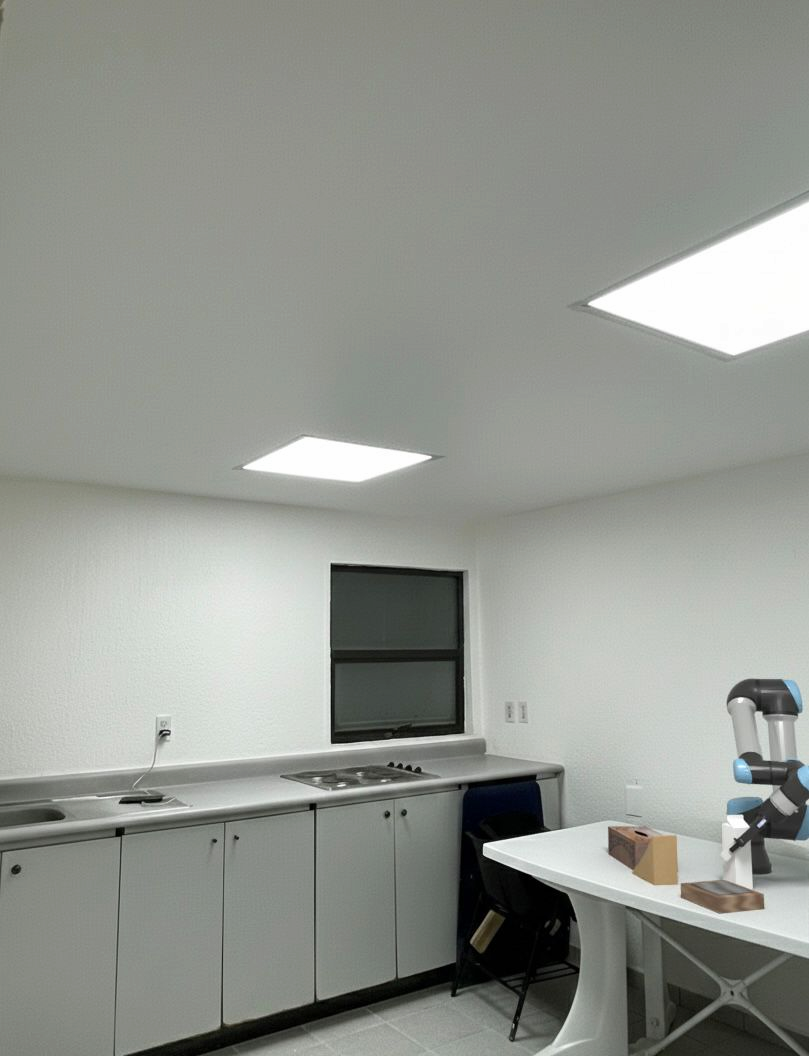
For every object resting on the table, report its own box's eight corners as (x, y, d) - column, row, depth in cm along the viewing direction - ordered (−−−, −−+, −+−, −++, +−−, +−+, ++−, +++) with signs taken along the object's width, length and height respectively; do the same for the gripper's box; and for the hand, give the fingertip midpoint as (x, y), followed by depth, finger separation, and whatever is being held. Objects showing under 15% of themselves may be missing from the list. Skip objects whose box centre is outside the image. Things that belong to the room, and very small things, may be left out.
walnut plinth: (724, 893, 244) (723, 878, 244) (764, 908, 229) (763, 892, 230) (681, 897, 238) (680, 882, 239) (719, 913, 223) (718, 897, 224)
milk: (753, 891, 247) (750, 816, 251) (736, 892, 245) (733, 816, 249) (739, 885, 253) (737, 812, 256) (723, 886, 251) (720, 813, 255)
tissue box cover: (677, 873, 268) (676, 841, 270) (636, 873, 267) (635, 841, 268) (646, 855, 293) (646, 826, 295) (608, 855, 292) (608, 826, 294)
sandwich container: (654, 872, 268) (653, 825, 270) (678, 885, 253) (677, 835, 255) (630, 873, 266) (629, 825, 268) (653, 885, 251) (652, 835, 254)
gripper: (785, 822, 236) (729, 871, 242) (791, 811, 254) (739, 858, 260) (764, 801, 240) (710, 850, 245) (772, 792, 258) (721, 838, 263)
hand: (725, 854), depth 252 cm, fingers closed on milk, 8 cm apart
